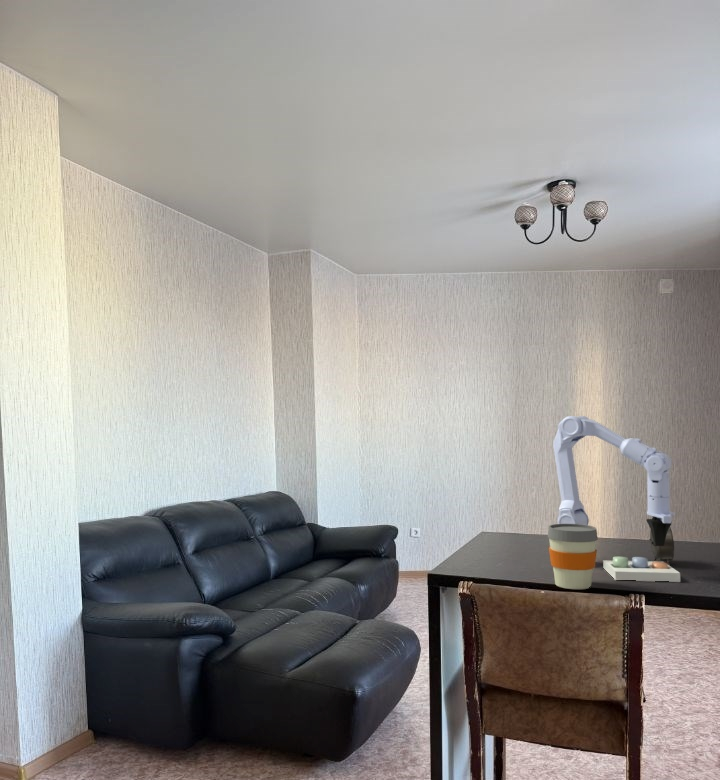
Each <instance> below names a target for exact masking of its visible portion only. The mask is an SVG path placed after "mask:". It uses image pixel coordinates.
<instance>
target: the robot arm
mask: <svg viewBox="0 0 720 780" xmlns="http://www.w3.org/2000/svg"><path fill="white" fill-rule="evenodd" d="M554 436H555V437H554V439H553V442H552V446H553V454H554V459H555V466H556V467H555V468H556V473H557V480H558V486H559V487H558V488H559V494H560V500H561V501H560V504H559V508H558V516H557V521H556V522H557V523H556V524H582V525H589V521H590V520H589V515H588V514H587V512H586V510H585V507H584V504H583V503H582V501H581V500H580V493H579V487H578V480H577V474H576V472H577V471H576V466H575V460H574V454H573V448H574V446H575V445H576V444H577V443H578V442H579V441H580V440H582V439H583V438H585V437H587V436H589V437H592V436H593V437H596V438H599V439H600V440H602V441H605V442H607V443H608V444H610V445H611V446H614V447H616V448H618V449H619V451H620V453H621V455H622V456H623V457H625V458H627V459H629V460H630V461H632V462H634V463H636V464H637V465H639V466H641V467H644V470H645V471H646V473H647V475H646V477H647V479H646V482H647V483H646V488H647V489H646V493H647V494H646V497H647V498H646V499H647V501H646V503H647V508H646V515H647V516H649V517H652V518H646V523H647V525H648V527H649V529H650V530H651V532H652V537H653V541H654V544H655V545H656V546H664V543H665V539H666V535H667V532H668V529H669V527H671V526H672V523H673V522H672V516H675V512H674V511H671V502H670V501H671V498H670V496H671V495H670V494H671V493H670V492H671V490H670V487H671V485H670V483H671V482H670V470H671V467H672V459H671V457H670V456H669V455H668V454H667V453H665V452H664V451H657V450H658V449H657V448H656V447H650V446H649V445H647V444H645V443H643V442H642V439H640V438H638V437H637V438H633V437H630V438H625V437H623V436H622V435H620V434H618V433H617V432H615V431H614V430H612V429H610V428H608V427H606V426H605V425H603V424H601V422H598V421H596V420H594V419H593V418H592V419H591V418H589V417H587V416H585V415H578V416H575V415H567V416H566V417H564V418H563V419H562V420H560V422H559V423H558V424H557V432H556V434H555V435H554Z"/></svg>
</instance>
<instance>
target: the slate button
mask: <svg viewBox="0 0 720 780" xmlns="http://www.w3.org/2000/svg"><path fill="white" fill-rule="evenodd" d="M648 560H649V559H648V557H644V556H643V557H642V556H632V558H631V561H632V567H633V568H648Z"/></svg>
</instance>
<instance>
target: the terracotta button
mask: <svg viewBox="0 0 720 780" xmlns="http://www.w3.org/2000/svg"><path fill="white" fill-rule="evenodd" d="M652 568H653V569H668V564H667V562H665V563H664V561H657V562H652Z"/></svg>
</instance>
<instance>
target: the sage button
mask: <svg viewBox="0 0 720 780" xmlns="http://www.w3.org/2000/svg"><path fill="white" fill-rule="evenodd" d="M612 561H613V567H614V568H628V561H629V558H628V557H627V556H620V555H619V556H618V555H617V556H613V557H612Z"/></svg>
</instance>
